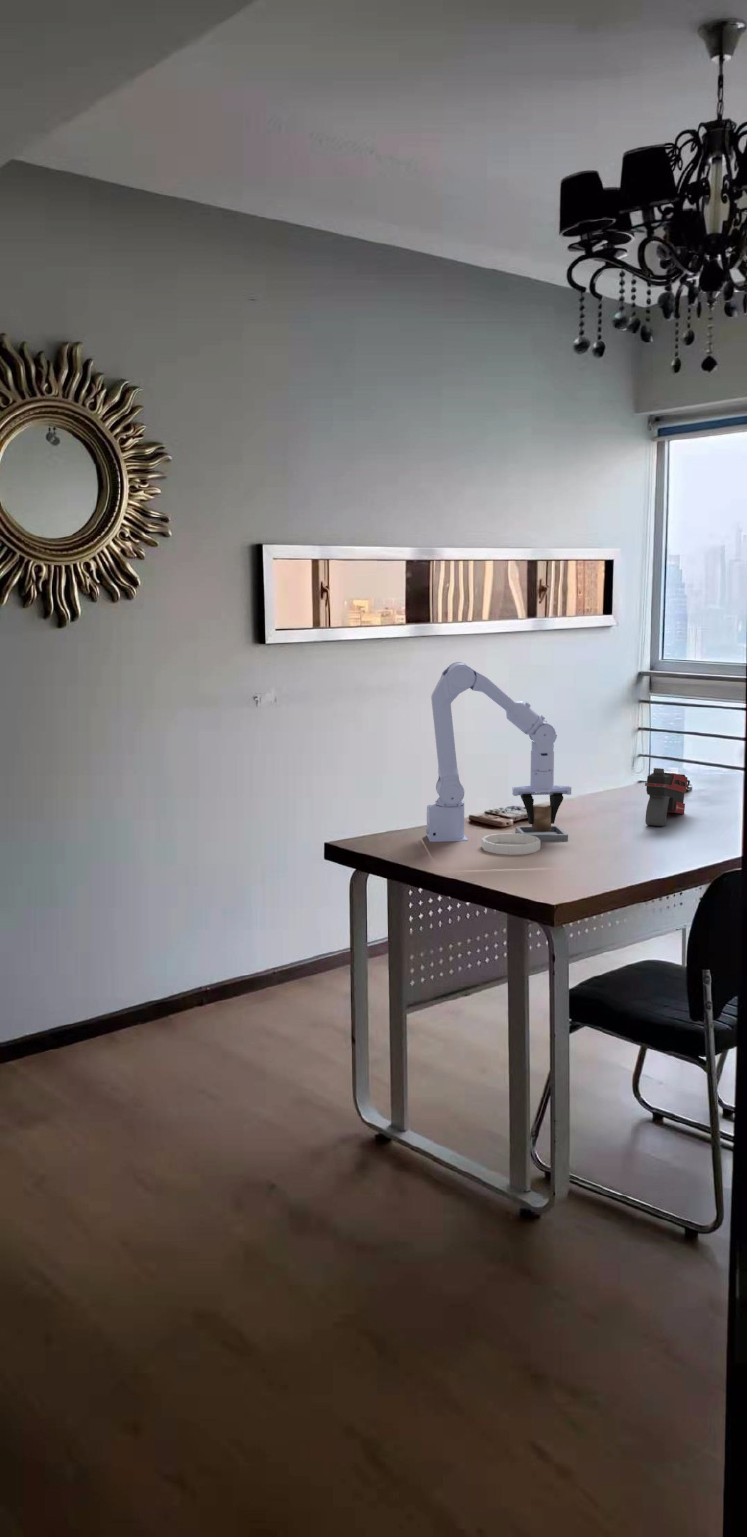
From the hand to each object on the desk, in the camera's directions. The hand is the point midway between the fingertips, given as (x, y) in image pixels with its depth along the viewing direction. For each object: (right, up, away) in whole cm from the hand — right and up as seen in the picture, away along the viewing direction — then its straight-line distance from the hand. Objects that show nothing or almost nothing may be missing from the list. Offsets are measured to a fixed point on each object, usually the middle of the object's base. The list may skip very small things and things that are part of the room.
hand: (541, 823), depth 299 cm
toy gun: (+36, 0, +22) cm, 43 cm away
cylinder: (0, -2, 0) cm, 2 cm away
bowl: (-9, -6, -12) cm, 16 cm away
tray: (0, -4, +1) cm, 4 cm away
